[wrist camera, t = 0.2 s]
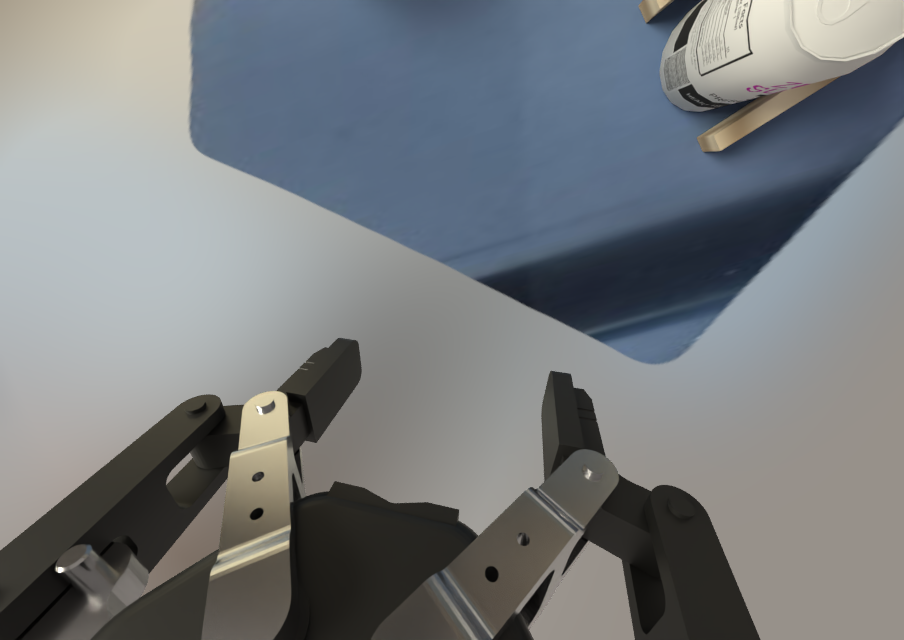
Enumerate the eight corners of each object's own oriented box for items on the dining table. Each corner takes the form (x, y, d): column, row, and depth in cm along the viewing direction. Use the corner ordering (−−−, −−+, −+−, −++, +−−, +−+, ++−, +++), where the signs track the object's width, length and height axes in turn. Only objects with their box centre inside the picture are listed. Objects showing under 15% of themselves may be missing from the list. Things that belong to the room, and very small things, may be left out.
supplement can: (733, -33, 26) (963, -232, 13) (782, 56, 28) (1028, -38, 15) (638, 59, 30) (743, -24, 16) (687, 133, 31) (817, 113, 18)
